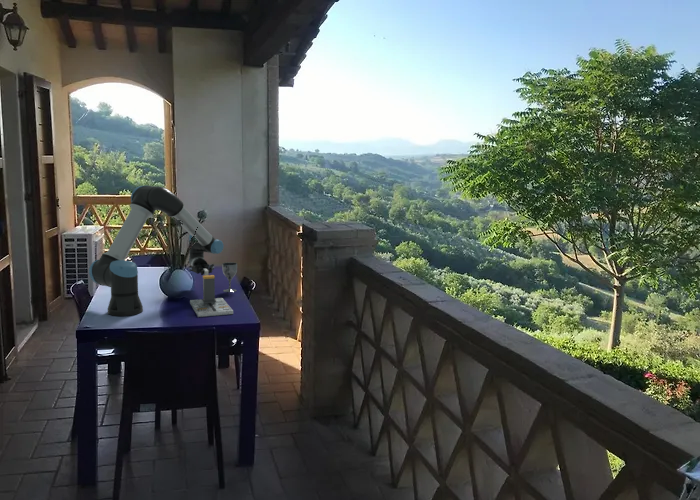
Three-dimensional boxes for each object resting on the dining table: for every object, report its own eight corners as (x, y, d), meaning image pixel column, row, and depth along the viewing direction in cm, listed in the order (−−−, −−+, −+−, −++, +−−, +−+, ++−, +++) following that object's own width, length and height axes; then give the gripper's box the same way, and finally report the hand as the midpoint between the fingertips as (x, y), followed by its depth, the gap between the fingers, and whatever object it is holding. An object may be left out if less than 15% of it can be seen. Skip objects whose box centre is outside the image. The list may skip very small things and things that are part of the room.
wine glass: (233, 292, 306) (233, 265, 303) (220, 291, 307) (219, 264, 305) (239, 289, 314) (239, 262, 311) (226, 288, 315) (225, 262, 313)
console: (198, 317, 258) (198, 313, 258) (190, 303, 282) (189, 300, 282) (233, 314, 265) (233, 310, 264) (222, 300, 288) (222, 297, 288)
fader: (203, 303, 274) (203, 277, 272) (202, 300, 279) (201, 275, 277) (216, 302, 276) (215, 276, 274) (214, 300, 281) (214, 274, 279)
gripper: (212, 270, 307) (220, 280, 286) (187, 272, 302) (193, 282, 281) (211, 257, 306) (220, 265, 285) (186, 258, 301) (193, 267, 280)
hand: (207, 273), depth 283 cm, fingers closed
